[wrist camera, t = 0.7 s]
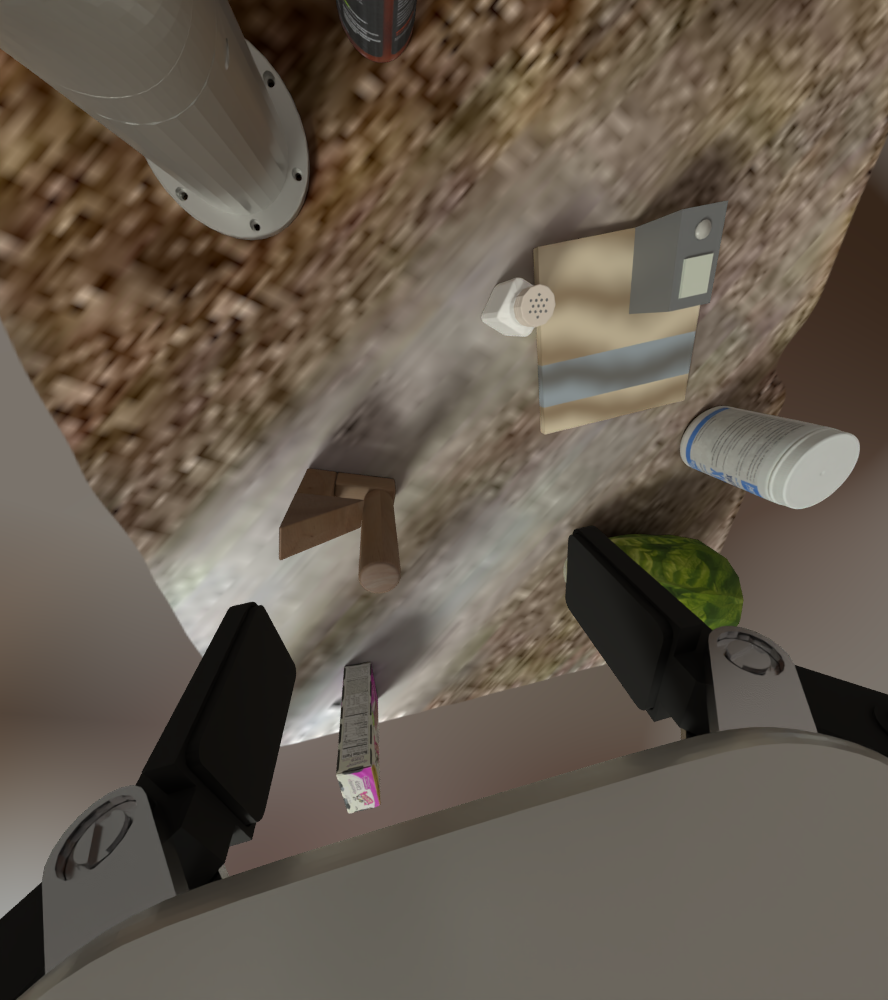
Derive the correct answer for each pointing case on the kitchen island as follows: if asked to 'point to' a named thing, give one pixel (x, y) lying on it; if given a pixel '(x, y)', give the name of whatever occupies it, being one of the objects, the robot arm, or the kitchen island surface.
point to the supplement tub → (770, 454)
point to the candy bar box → (359, 740)
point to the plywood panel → (604, 337)
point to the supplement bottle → (378, 26)
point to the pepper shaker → (518, 307)
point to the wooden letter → (346, 522)
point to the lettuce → (688, 574)
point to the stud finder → (676, 259)
